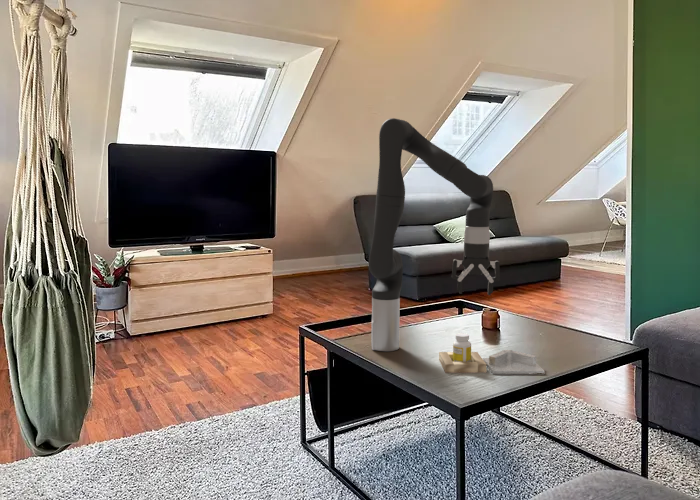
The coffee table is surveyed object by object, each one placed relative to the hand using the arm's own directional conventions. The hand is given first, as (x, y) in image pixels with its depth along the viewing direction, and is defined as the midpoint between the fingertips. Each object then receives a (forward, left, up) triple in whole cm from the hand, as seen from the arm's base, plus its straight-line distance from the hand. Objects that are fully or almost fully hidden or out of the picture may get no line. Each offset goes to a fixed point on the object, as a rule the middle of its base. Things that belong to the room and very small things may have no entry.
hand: (474, 293), depth 173 cm
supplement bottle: (-4, -4, -22) cm, 22 cm away
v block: (+11, -6, -21) cm, 25 cm away
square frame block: (-4, -4, -21) cm, 22 cm away
